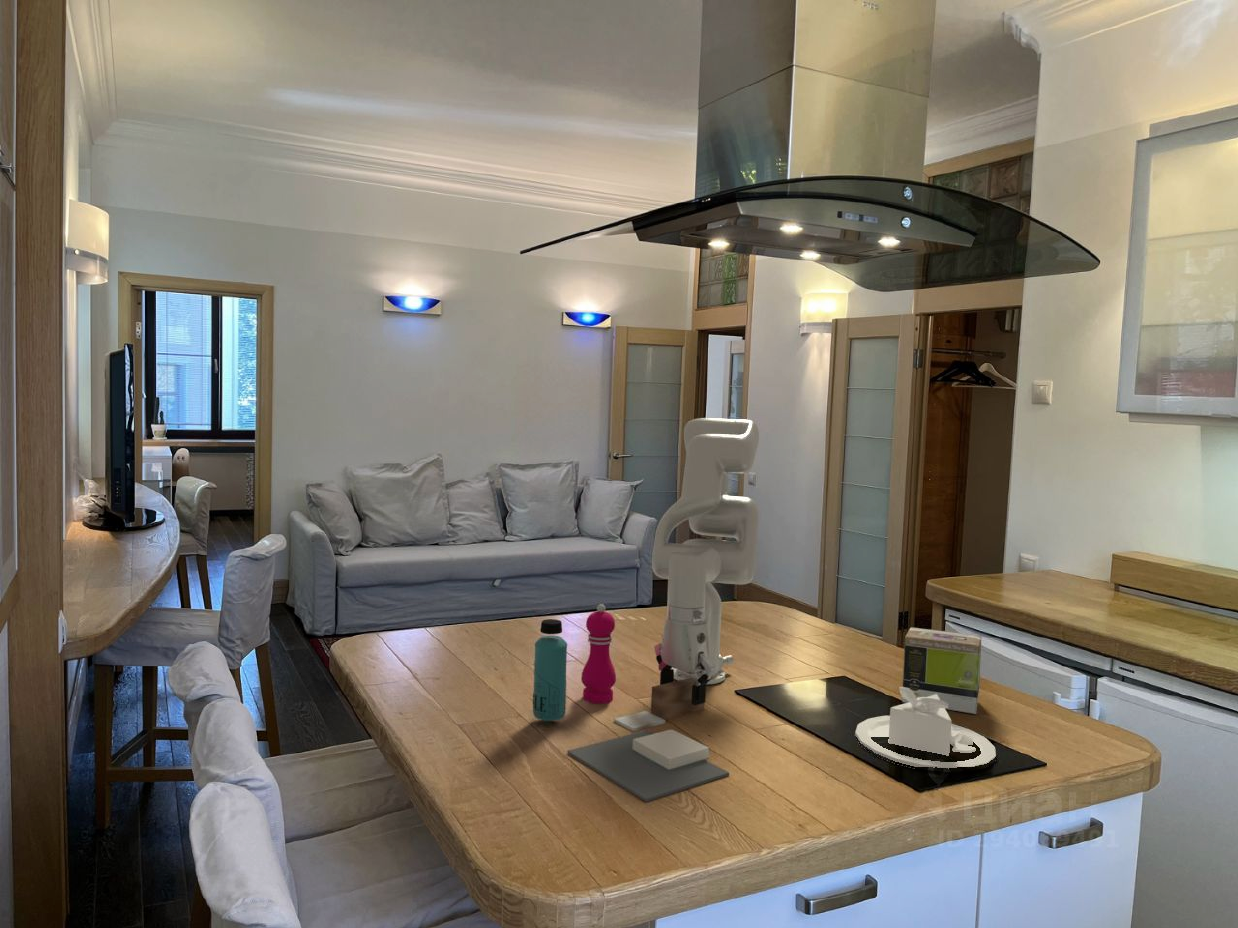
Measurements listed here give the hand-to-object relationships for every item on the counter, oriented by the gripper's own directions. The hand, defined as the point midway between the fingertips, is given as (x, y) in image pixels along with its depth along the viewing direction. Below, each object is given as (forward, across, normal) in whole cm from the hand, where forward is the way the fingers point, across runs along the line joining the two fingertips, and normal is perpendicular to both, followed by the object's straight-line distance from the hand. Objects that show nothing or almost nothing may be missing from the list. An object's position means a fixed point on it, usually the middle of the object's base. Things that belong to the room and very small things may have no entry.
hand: (682, 696), depth 175 cm
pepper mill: (+3, +15, +10) cm, 18 cm away
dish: (+4, -37, -28) cm, 47 cm away
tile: (+2, -16, +12) cm, 20 cm away
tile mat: (+3, -16, +22) cm, 27 cm away
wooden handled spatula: (+3, 0, +6) cm, 7 cm away
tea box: (+4, -25, -52) cm, 58 cm away
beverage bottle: (+3, +9, +26) cm, 28 cm away
